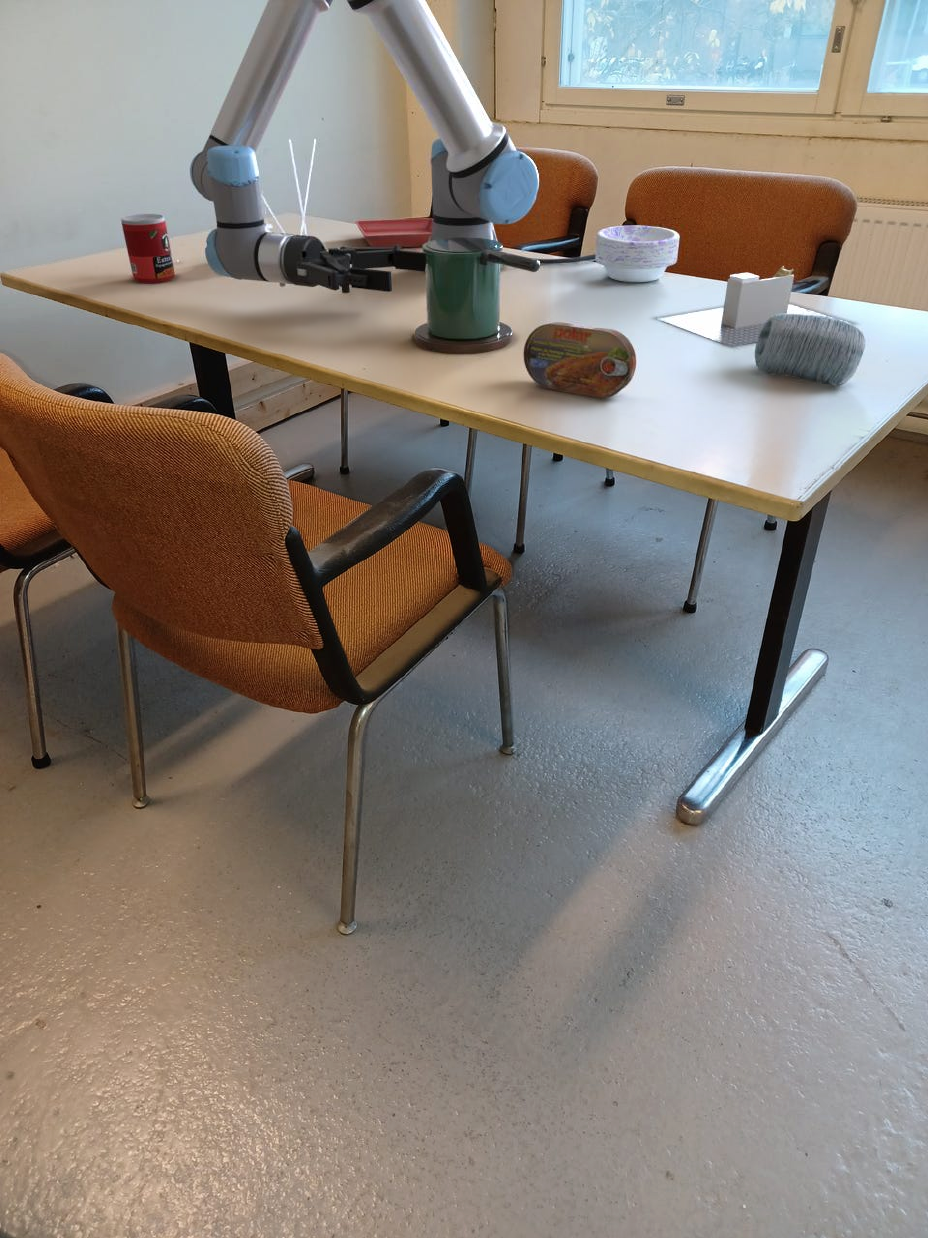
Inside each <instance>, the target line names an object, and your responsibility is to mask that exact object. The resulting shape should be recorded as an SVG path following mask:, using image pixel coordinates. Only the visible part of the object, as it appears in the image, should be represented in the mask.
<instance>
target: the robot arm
mask: <svg viewBox="0 0 928 1238" xmlns="http://www.w3.org/2000/svg"><path fill="white" fill-rule="evenodd" d="M333 1H334V0H267V2H266V5H265V7H264V9H263V11H262V14H261V16H260V18H259V21H258V23H257V25H256V28H255V29H254V33H253V34H252V37H251V39H250V42H249V44H248V46H247V48H246V51H245V53H244V55H243V57H242V59H241V62H240V64H239V66H238V69H237V71H236V73H235V76H234V78H233V80H232V83H231V84H230V87H229V89H228V91H227V93H226V96H225V99H224V101H223V103H222V105H221V108H220V109H219V110H220V111H219V112H218V115H217V116H216V119H215V122H214V123H213V125H212V128H211V130H210V133H209V135H208V138H207V140H206V142H205V144H204V146H203V149H202V150H201V151H200V152H199V153H197V154H196V155H195V156H194V157H193V158H192V160H191V163H190V167H189V177H190V180H191V183H192V185H193V186H194V188H195V189H196V190H197V192H198V194H200V195H201V196H202V198H204V199H205V200H207V201H209V202H212V203H213V207H214V214H215V219H216V220H215V221H216V228H213V229H212V230H211V231H210V232H209V233H208V234H207V236H206V240H205V242H206V246H205V248H204V254H205V259H206V262H207V264H208V266H209V268H210V269H211V270H212V271H213V272H214V273H215V274H217V275H219V276H222V277H226V278H227V277H228V278H232V279H235V280H239V281H242V280H245V281H257V282H258V281H259V282H267V283H279V286H280V287H282V288H284V287H286V285H295V286H300V287H309V288H315V287H317V286H320V287H323V288H326V289H329V290H331V291H335V292H336V291H339V290H340V288H341V293H342V294H350V293H351V289H350V287H351V288H352V289H360V290H361V289H362V290H368V291H378V292H386V293H391V292H393V281H392V280H393V279H392V278H393V277H392V271H391V270H380V269H381V268H382V269H383V268H394V269H395V270H404V271H412V272H421V273H423V272H424V273H426V272H425V253H424V252H423V251H411V250H401V247H398V245H397V244H394V247H371V246H368V247H366V246H365V247H364V246H361V247H357V246H356V247H355V246H354V247H353V246H344V245H342V246H340V247H339V248H338V247H329V248H328V249H326V247H325V246H324V244H323V242H322V240H321V239H319V238H318V237H316V236H313V235H308V236H305V234H304V235H303V234H302V235H300V234H293V233H288V232H287V233H286V232H285V233H283V232H275V231H274V232H272V231H270V232H265V226H264V223H265V217H264V209H263V199H262V198H261V194H262V191H261V182H260V169H259V166H258V162H257V161H258V160H257V156H256V153H257V151H258V148H259V146H260V144H261V142H262V139H263V137H264V135H265V133H266V131H267V129H268V126H269V124H270V123H271V120H272V117H273V115H274V113H275V111H276V109H277V107H278V104H279V102H280V100H281V98H282V96H283V94H284V91H285V90H286V87H287V85H288V82H289V81H290V78H291V76H292V75H293V72H294V69H295V67H296V65H297V63H298V61H299V59H300V57H301V55H302V53H303V50H304V48H305V46H306V44H307V42H308V39H309V38H310V35H311V33H312V31H313V28H314V27H315V24H316V22H317V19H318V18H319V15H320V14H321V13H323V12H328V11H329V9H330V8H331V6H332V3H333ZM346 2H347V4H348V5H349V7H350V9H351V10H352V12H354V13H358V14H362V15H364V16H367V17H368V19H369V21H370V22H371V24H372V26H373V28H374V29H375V31H376V33H377V34H378V36H379V37H380V39H381V41H382V42H383V44H384V46H385V49H387V51H388V53H389V54H390V56H391V58H392V60H393V61H394V63H395V65H396V67H397V68H398V70H399V72H401V75H402V77H403V78H404V80H405V82H406V83H407V86H409V88H410V90H411V92H412V93H413V95H414V97H415V98H416V101H417V102H418V104H419V105H420V107H421V109H422V111H423V112H424V114H425V115H426V117H427V119H428V121H429V122H430V124H431V125H432V128H433V129H434V131H435V133H436V134H437V136H438V137H439V138H436V139H435V140H434V141H433V143H432V144H431V155H430V168H431V170H430V171H431V193H432V195H431V197H432V219H433V229H432V233H431V237H429V241H428V242H430V241H433V240H438V239H445V238H461V237H468V238H484V239H490V240H495V241H498V239H497V235H496V231H495V228H494V224H495V225H510V224H514V223H516V222H519V221H520V220H522V219H523V218H524V217H525V216H527V214H528V213H529V212H530V210H531V209H532V207H533V206H534V204H535V202H536V200H537V195H538V191H539V189H540V188H539V186H540V178H539V172H538V170H537V166H536V163H534V161H533V159H531V157H529V156H528V155H527V154H526V153H524V151H521V150H517V149H516V146H515V145H514V143H513V141H512V139H511V137H510V135H509V134H508V132H507V129H506V128H505V126H504V125H503V124H501V123H497V122H493V121H491V120H490V118H489V116H488V114H487V113H486V111H485V109H484V106H483V105H482V103H481V101H480V99H479V98H478V96H477V94H476V91H475V90H474V88H473V87H472V84H471V83H470V81H469V78H468V77H467V75H466V73H465V72H464V70H463V68H462V66H461V64H460V63H459V61H458V59H457V57H456V55H455V53H454V51H453V49H452V48H451V46H450V43H449V42H448V40H447V39H446V37H445V34H444V33H443V31H442V29H441V27H440V25H439V24H438V22H437V20H436V18H435V16H434V14H433V12H432V11H431V9H430V7H429V5H428V3H427V1H426V0H346ZM595 255H596V253H595V254H589V255H588V254H587V255H583V256H577V257H568V258H566V257H565V258H532V257H530V258H531V259H536V260H538V261H539V263H540V265H542V264H543V265H554V264H571V263H580V262H586V261H590V260H595ZM500 269H502V264H500Z"/></svg>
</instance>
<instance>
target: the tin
mask: <svg viewBox="0 0 928 1238" xmlns="http://www.w3.org/2000/svg"><path fill="white" fill-rule="evenodd" d="M523 363H524V366H525V369H526V372H527V373H528V375H529V377H530V378H531V379H532V380H533V382H535V384H537V385H538V386H540V387H542V388H544V389H547V390H550V391H557V392H564V393H569V394H575V395H580V396H584V397H585V396H586V397H591V398H597V399H607V398H611V397H613V396H616V395H617V394H618V393H620V392H621V391H622V390H623V389H625V388H626V387H627V386H628V385H629V384H630V383H631V381H632V380H633V378H634V375H635V373H636V368H637V355H636V350H635V347H634V346H633V344H632V343H631V341H630V340H629V338H628V337H627V336H626V335H624V334H623V333H622V332H620V331H618V330H616V329H613V328H607V327H598V326H590V325H583V324H578V323H577V324H575V323H569V322H562V321H554V322H550V323H549V322H548V323H545V324H542V325H539V326H538V327H536V328H535V329H533V331H531V332H530V334H529V335H528V337H527V339H526V340H525V344H524V347H523Z"/></svg>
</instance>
